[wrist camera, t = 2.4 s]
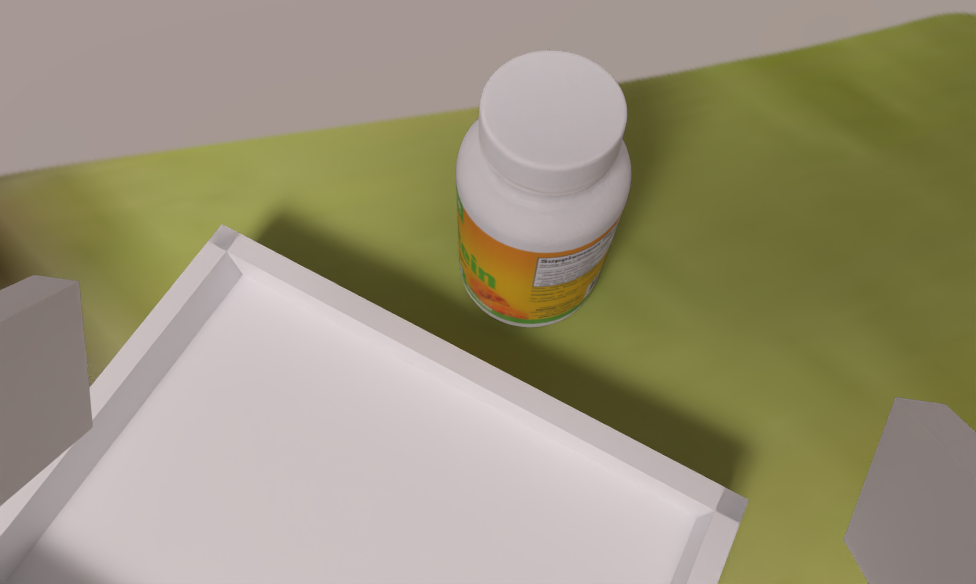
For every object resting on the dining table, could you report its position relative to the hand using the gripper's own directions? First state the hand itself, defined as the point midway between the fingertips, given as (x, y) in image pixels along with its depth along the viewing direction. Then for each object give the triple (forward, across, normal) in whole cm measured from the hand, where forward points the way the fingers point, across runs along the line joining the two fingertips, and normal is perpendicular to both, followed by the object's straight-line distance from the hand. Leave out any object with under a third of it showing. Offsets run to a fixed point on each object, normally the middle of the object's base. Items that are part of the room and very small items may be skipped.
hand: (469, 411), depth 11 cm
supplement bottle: (+16, +1, -3) cm, 17 cm away
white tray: (+8, -3, -11) cm, 14 cm away
